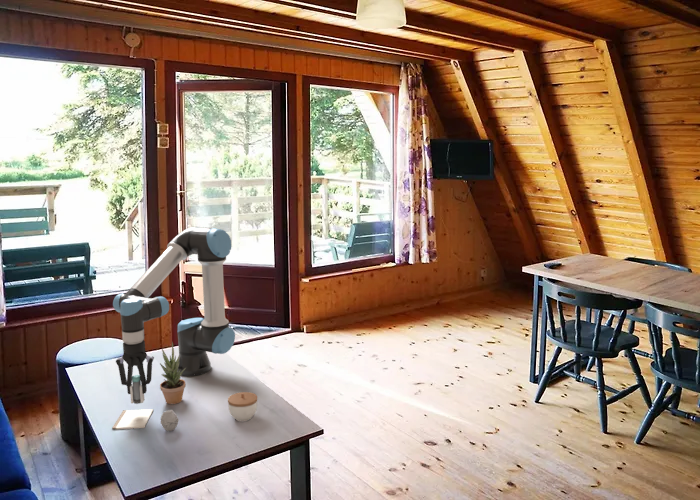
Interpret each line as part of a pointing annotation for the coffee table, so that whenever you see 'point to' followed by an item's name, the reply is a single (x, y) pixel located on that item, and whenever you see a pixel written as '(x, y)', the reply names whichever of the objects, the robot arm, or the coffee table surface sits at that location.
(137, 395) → the marker
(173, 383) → the potted plant
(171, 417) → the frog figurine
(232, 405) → the lidded jar
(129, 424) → the notepad
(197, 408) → the coffee table surface
